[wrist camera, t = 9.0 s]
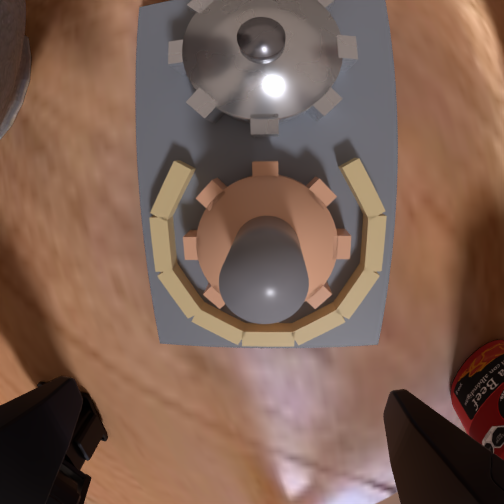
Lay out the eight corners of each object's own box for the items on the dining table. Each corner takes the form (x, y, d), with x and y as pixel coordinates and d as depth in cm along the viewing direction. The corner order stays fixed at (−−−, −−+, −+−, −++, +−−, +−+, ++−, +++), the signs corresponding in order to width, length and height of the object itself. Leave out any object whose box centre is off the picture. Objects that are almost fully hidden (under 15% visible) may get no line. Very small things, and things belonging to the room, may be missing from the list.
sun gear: (184, 141, 16) (161, 138, 12) (184, 1, 13) (165, -27, 10) (348, 138, 15) (368, 135, 12) (339, -4, 12) (351, -33, 9)
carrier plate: (165, 333, 21) (155, 351, 19) (146, 14, 14) (132, 1, 12) (373, 334, 20) (382, 353, 18) (379, 7, 13) (390, -7, 11)
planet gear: (197, 308, 19) (168, 370, 13) (186, 164, 16) (140, 172, 10) (339, 308, 18) (362, 372, 12) (346, 161, 15) (385, 167, 10)
